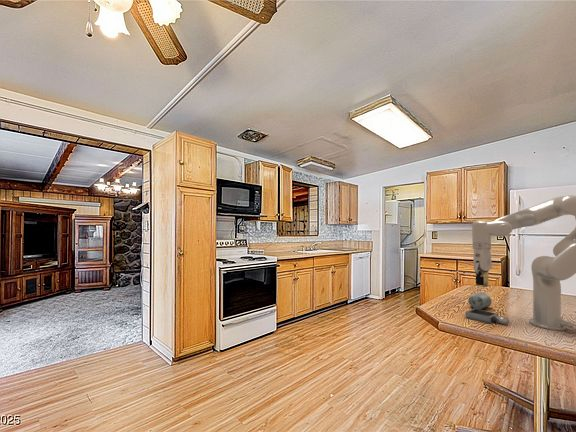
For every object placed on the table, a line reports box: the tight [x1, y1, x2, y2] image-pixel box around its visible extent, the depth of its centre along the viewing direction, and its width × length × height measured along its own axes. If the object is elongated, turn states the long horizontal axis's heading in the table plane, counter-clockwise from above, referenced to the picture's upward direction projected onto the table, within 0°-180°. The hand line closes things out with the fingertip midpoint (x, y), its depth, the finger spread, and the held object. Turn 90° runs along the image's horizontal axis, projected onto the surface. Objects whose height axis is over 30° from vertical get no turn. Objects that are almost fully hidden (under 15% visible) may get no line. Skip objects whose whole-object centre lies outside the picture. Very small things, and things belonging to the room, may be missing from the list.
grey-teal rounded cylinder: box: [467, 292, 492, 310], centre depth 160 cm, size 14×10×10 cm
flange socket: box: [465, 308, 510, 326], centre depth 139 cm, size 16×10×3 cm
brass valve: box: [475, 269, 490, 288], centre depth 142 cm, size 5×5×8 cm
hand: (482, 283), depth 142 cm, fingers closed on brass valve, 5 cm apart
